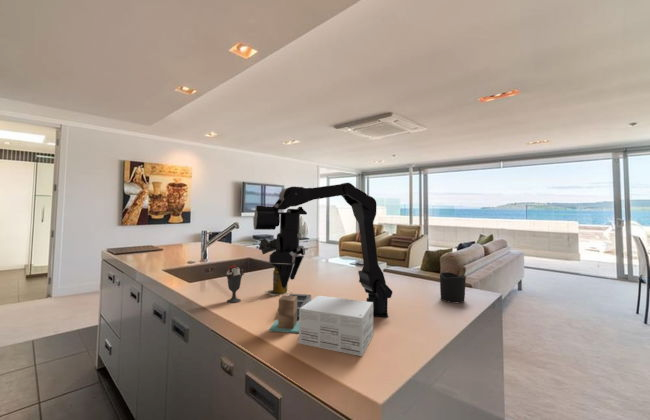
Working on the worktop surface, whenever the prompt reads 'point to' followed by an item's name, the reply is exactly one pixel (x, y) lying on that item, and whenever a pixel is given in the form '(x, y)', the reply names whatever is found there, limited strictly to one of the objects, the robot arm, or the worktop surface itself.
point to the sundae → (234, 281)
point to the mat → (275, 328)
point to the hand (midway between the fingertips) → (288, 282)
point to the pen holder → (452, 287)
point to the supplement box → (336, 324)
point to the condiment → (277, 285)
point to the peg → (287, 312)
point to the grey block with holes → (300, 301)
